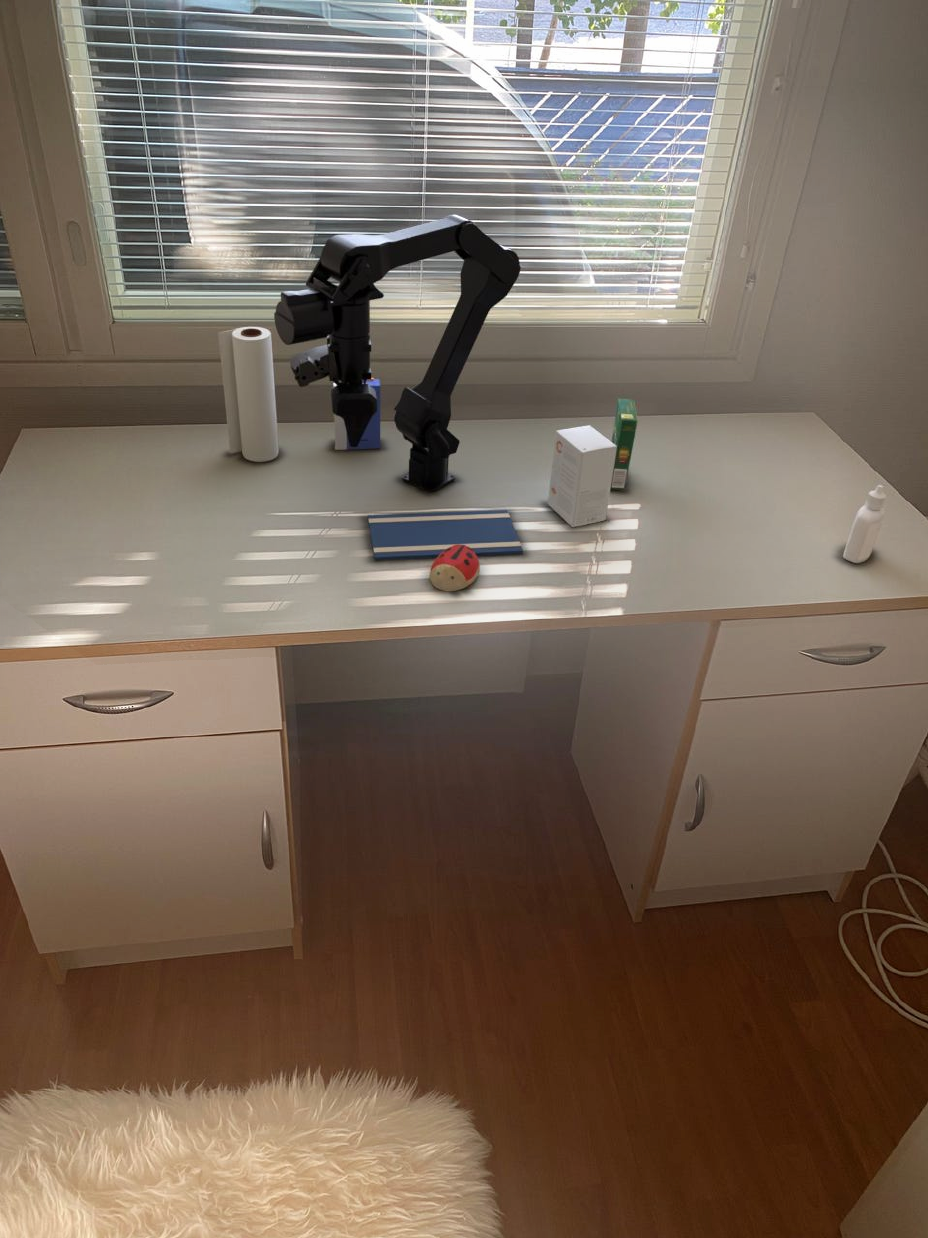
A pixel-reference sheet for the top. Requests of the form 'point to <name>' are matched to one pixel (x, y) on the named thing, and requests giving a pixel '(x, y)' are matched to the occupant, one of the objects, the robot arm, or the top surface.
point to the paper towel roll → (249, 392)
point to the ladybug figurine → (455, 568)
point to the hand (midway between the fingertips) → (351, 432)
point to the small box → (581, 475)
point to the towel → (442, 534)
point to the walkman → (372, 431)
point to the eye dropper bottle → (866, 527)
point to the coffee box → (623, 441)
